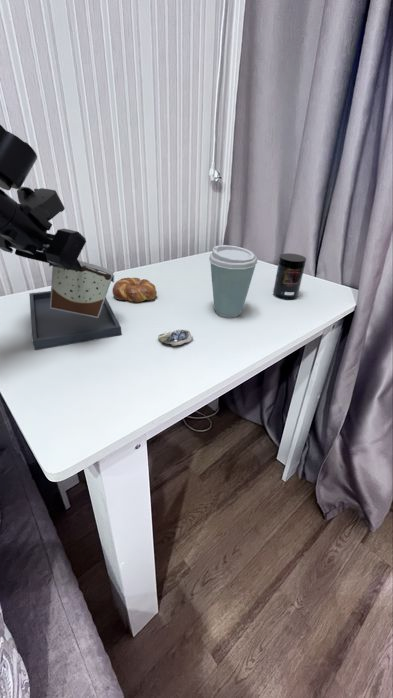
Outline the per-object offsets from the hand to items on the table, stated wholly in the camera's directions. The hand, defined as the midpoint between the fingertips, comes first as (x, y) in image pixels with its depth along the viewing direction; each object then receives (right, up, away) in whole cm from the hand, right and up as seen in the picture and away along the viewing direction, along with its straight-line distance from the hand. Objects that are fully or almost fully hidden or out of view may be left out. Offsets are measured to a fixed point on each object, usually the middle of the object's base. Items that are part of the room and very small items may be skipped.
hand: (69, 266), depth 65 cm
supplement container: (+49, -2, +25) cm, 55 cm away
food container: (-1, -8, +4) cm, 9 cm away
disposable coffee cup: (+33, -8, +15) cm, 36 cm away
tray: (-3, -9, +10) cm, 13 cm away
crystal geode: (+21, -14, +3) cm, 25 cm away
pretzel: (+9, -3, +21) cm, 23 cm away
